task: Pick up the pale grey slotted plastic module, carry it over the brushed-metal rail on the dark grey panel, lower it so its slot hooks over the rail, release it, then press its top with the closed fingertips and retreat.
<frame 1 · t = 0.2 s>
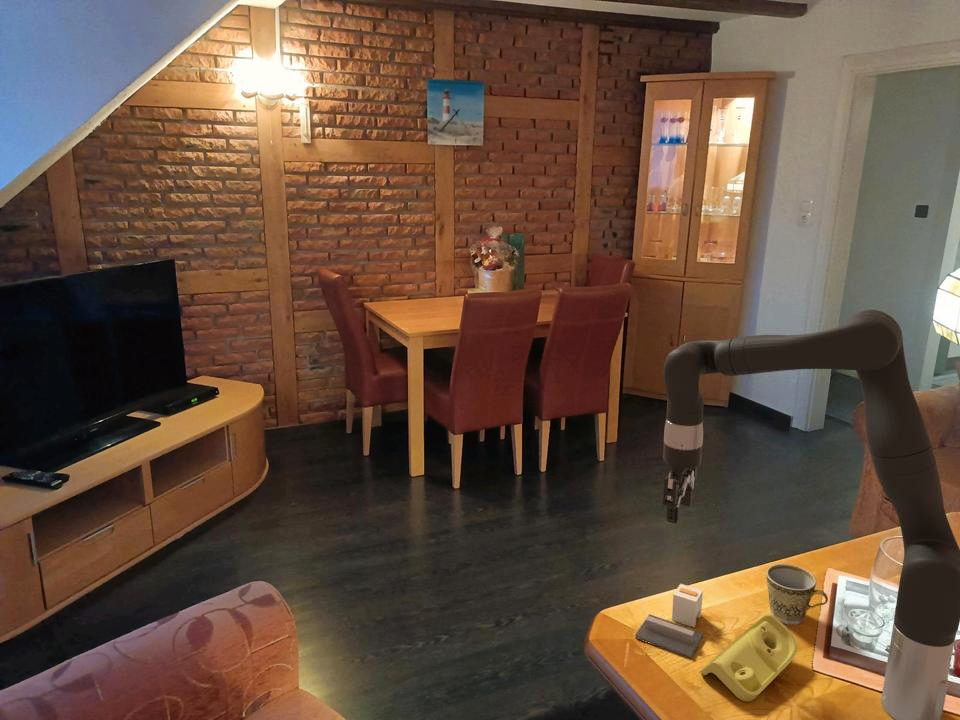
hand: (679, 513, 144), 28 cm above the table, fingers open, 8 cm apart
module: (686, 617, 155), on the table
plastic component: (751, 672, 138), on the table
ceramic cup: (793, 619, 153), on the table
panel: (669, 637, 148), on the table
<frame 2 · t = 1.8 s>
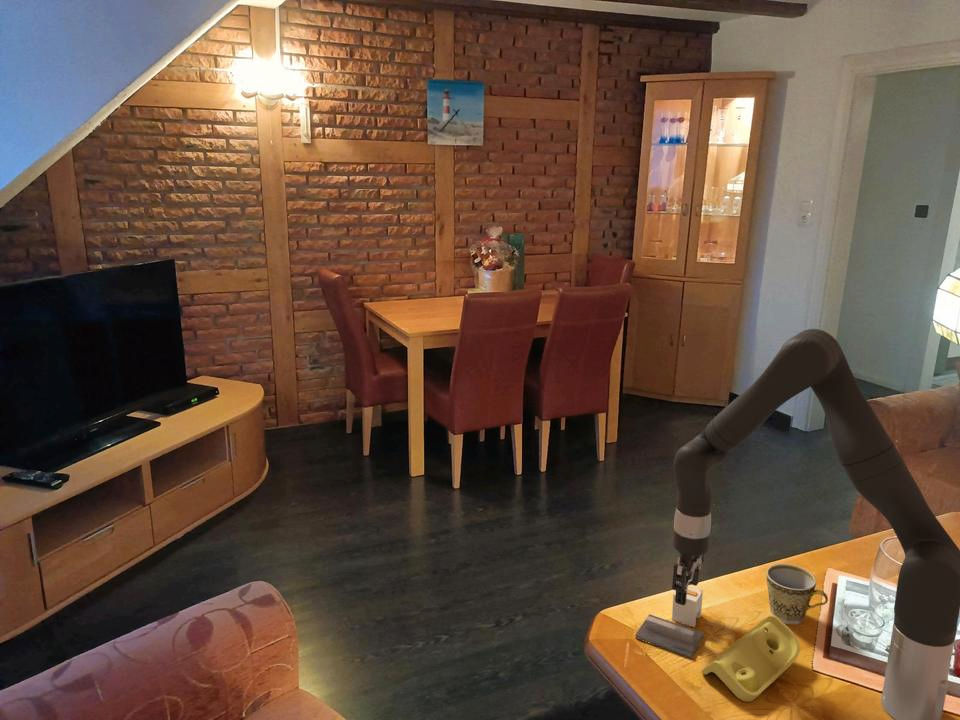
hand: (686, 593, 153), 6 cm above the table, fingers open, 8 cm apart
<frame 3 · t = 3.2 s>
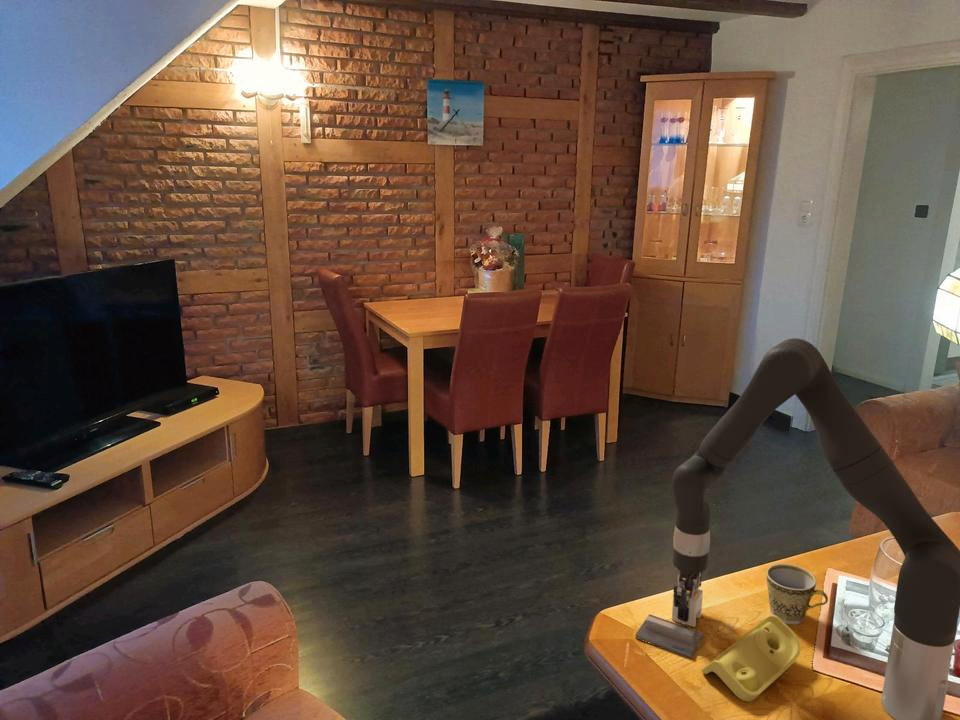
hand: (686, 613, 154), 1 cm above the table, fingers closed on module, 4 cm apart
module: (686, 617, 154), on the table, touching gripper
everything else where it was.
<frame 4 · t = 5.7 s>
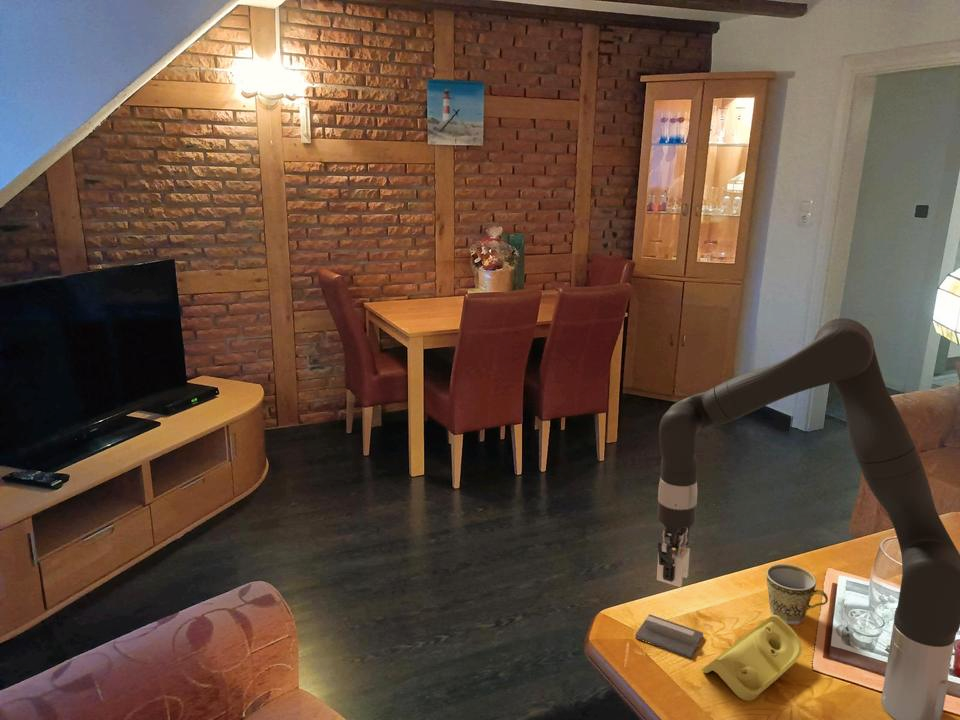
hand: (672, 572, 144), 16 cm above the table, fingers closed on module, 4 cm apart
module: (672, 577, 144), point 15 cm above the table, touching gripper
everything else where it was.
when the fingers open (4 cm above the table, at t = 8.2 s): module drops 1 cm, resting on panel.
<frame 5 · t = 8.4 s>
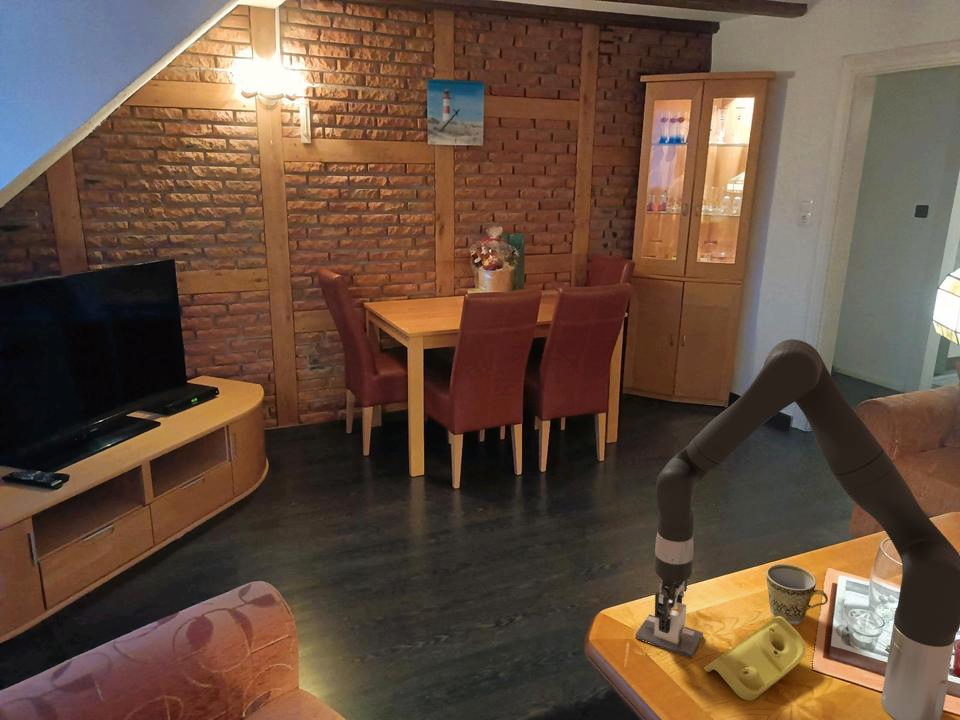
hand: (670, 621, 147), 4 cm above the table, fingers open, 6 cm apart
module: (669, 633, 148), point 1 cm above the table, touching panel
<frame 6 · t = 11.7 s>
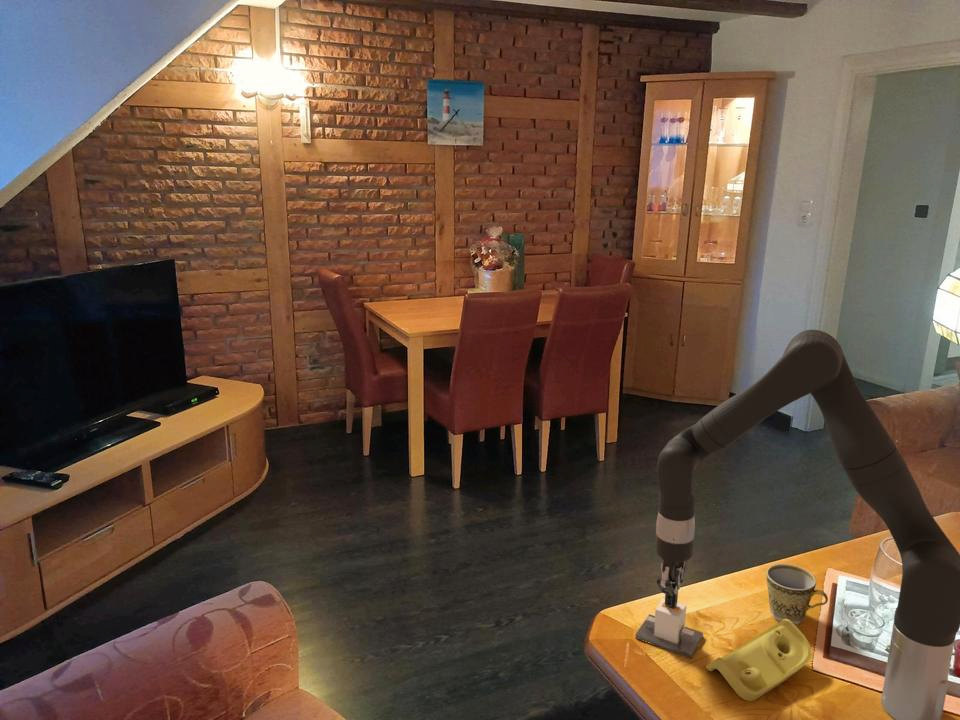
hand: (670, 605, 146), 8 cm above the table, fingers closed
module: (669, 633, 148), point 1 cm above the table, touching gripper, panel
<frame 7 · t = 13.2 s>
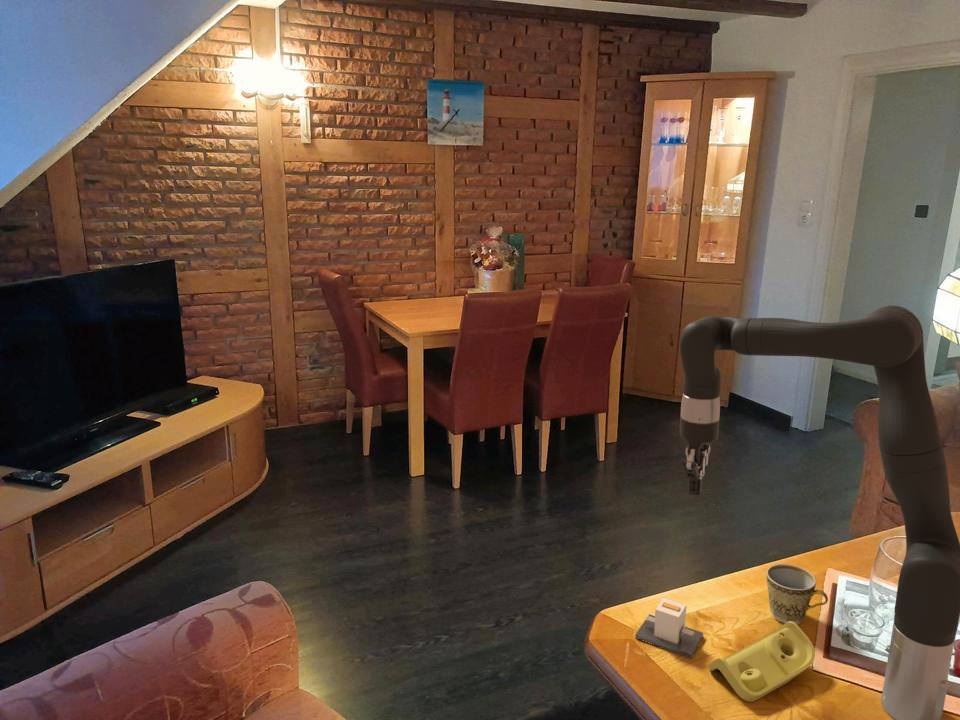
hand: (695, 493, 145), 31 cm above the table, fingers closed
module: (669, 633, 148), point 1 cm above the table, touching panel
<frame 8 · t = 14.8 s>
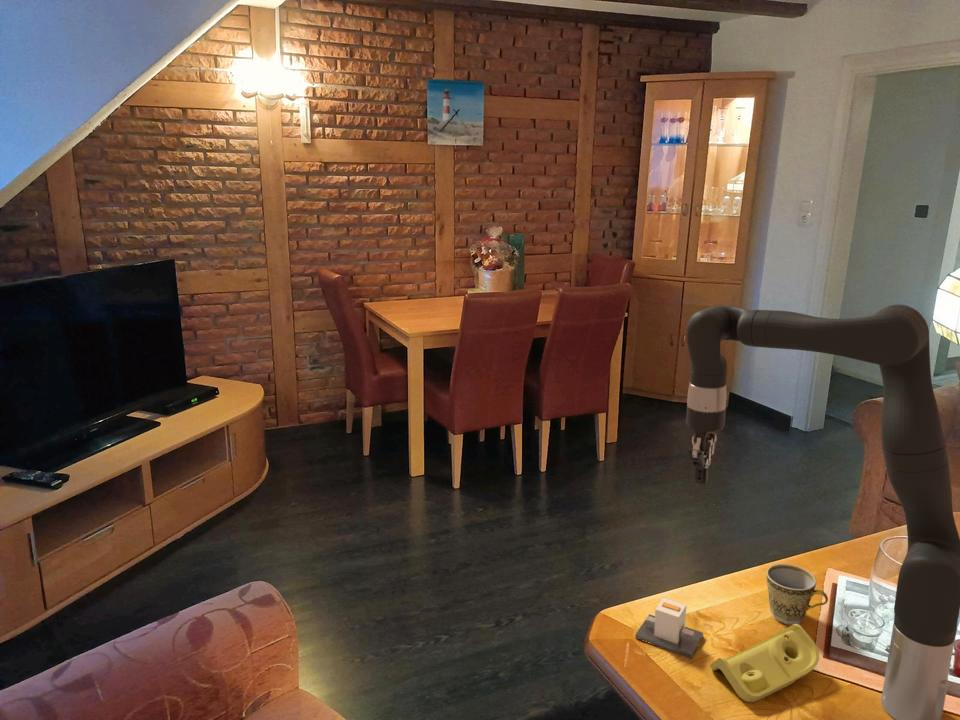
hand: (701, 481, 146), 33 cm above the table, fingers closed
at the end: module 0.0 cm off-centre on the panel, point 1.0 cm above the panel's base; module tilted 0°; the gripper is holding nothing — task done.
